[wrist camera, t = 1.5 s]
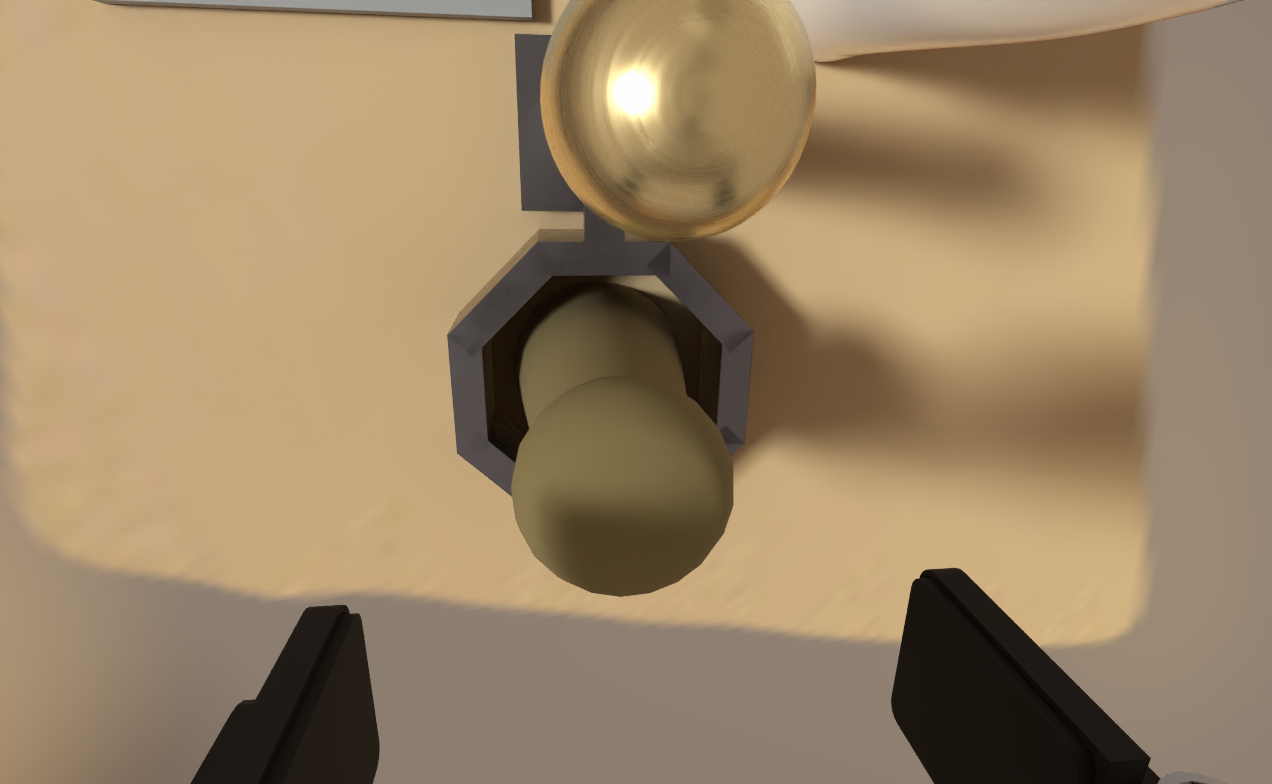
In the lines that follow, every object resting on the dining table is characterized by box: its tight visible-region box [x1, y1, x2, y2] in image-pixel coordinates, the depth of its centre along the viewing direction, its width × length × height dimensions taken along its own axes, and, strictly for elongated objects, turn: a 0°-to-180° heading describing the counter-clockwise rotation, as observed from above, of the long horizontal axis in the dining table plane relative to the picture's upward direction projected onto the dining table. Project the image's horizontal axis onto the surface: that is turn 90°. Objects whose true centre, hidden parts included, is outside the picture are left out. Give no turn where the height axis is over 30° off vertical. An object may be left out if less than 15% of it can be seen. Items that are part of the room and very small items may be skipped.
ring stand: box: [447, 0, 816, 496], centre depth 16 cm, size 15×10×16 cm, turn 179°
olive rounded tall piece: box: [511, 282, 733, 597], centre depth 19 cm, size 6×6×11 cm
